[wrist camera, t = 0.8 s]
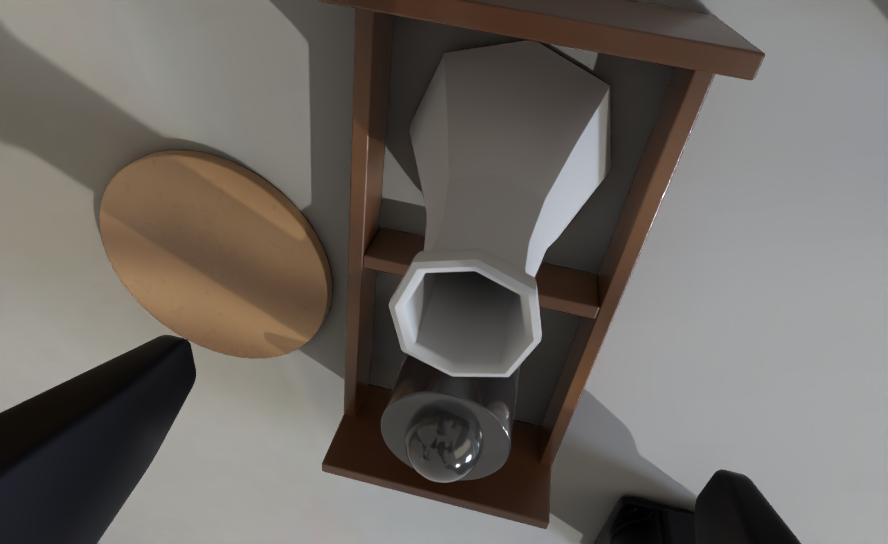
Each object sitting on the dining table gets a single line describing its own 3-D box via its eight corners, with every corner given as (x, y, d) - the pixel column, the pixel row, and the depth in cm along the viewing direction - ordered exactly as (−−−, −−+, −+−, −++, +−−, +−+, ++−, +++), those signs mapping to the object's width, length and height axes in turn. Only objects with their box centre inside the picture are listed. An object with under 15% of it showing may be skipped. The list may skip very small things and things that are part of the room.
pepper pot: (510, 390, 26) (492, 529, 20) (410, 366, 26) (364, 495, 20) (533, 312, 23) (520, 448, 17) (420, 286, 23) (371, 411, 18)
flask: (580, 251, 21) (586, 472, 13) (401, 211, 21) (297, 398, 13) (648, 59, 17) (722, 207, 8) (422, 16, 17) (289, 115, 9)
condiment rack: (549, 436, 27) (546, 530, 23) (357, 389, 28) (321, 471, 24) (716, 15, 16) (767, 53, 11) (379, -44, 16) (317, -27, 12)
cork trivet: (332, 371, 27) (327, 380, 27) (135, 323, 28) (127, 331, 28) (334, 179, 21) (328, 185, 21) (79, 125, 22) (68, 130, 21)
